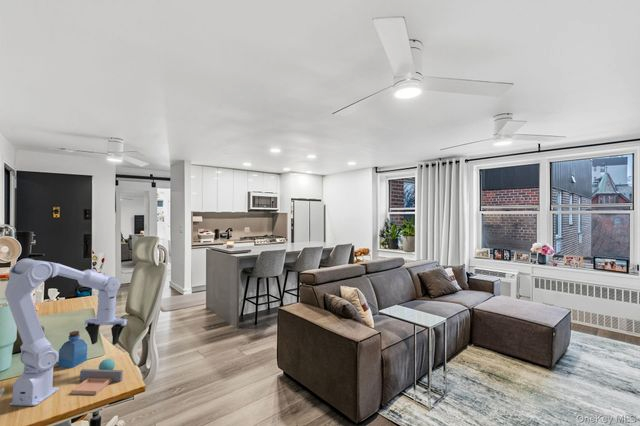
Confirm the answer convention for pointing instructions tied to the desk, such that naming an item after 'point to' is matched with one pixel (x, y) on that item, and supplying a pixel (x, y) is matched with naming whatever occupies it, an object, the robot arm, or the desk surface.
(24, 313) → the robot arm
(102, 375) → the wall
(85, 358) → the perfume bottle
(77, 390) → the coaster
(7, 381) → the desk surface
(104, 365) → the ball
